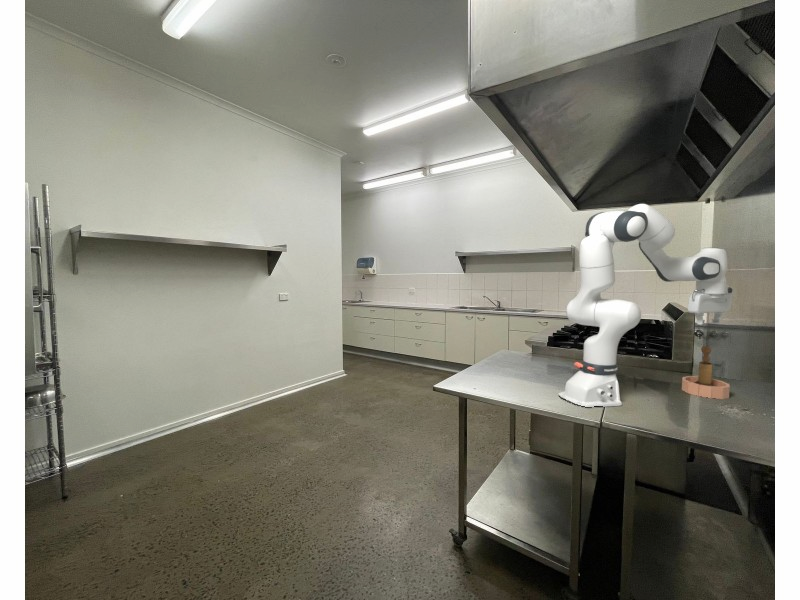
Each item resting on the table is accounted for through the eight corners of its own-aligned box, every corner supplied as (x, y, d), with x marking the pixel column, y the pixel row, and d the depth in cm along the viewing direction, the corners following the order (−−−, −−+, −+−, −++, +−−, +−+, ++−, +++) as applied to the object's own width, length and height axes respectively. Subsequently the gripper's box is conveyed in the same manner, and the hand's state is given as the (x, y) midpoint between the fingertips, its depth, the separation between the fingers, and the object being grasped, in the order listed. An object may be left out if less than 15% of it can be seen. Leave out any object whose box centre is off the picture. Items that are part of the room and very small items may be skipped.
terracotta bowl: (714, 400, 126) (714, 389, 125) (673, 388, 139) (674, 378, 138) (737, 396, 130) (738, 384, 130) (695, 385, 143) (696, 374, 143)
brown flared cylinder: (719, 392, 131) (722, 347, 130) (703, 392, 131) (705, 348, 130) (705, 387, 137) (707, 344, 136) (689, 387, 138) (691, 344, 136)
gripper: (702, 290, 125) (700, 326, 126) (736, 288, 131) (734, 323, 132) (683, 289, 131) (681, 324, 132) (717, 288, 137) (715, 321, 138)
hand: (708, 323), depth 132 cm, fingers open, 8 cm apart
